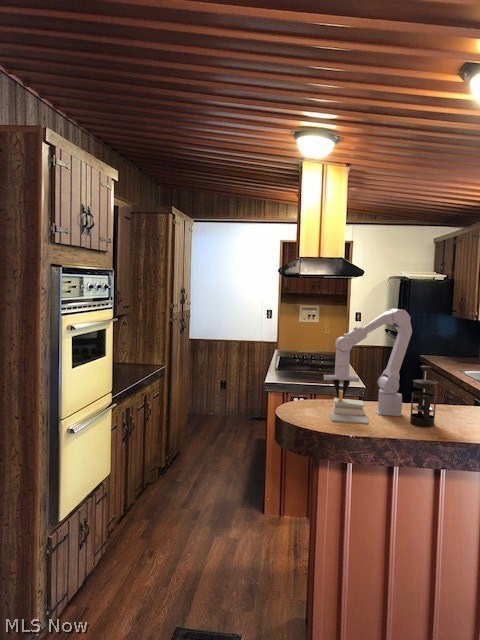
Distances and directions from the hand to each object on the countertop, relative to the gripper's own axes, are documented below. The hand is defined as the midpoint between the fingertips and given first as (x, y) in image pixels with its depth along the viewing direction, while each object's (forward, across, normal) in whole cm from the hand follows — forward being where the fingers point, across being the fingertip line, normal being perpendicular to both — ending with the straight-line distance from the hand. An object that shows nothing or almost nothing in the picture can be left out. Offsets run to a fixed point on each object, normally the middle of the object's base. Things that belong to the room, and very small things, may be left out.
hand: (340, 398), depth 223 cm
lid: (+3, +3, 0) cm, 4 cm away
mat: (+6, +4, -11) cm, 13 cm away
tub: (+6, +4, 0) cm, 7 cm away
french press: (+6, +32, -10) cm, 34 cm away
